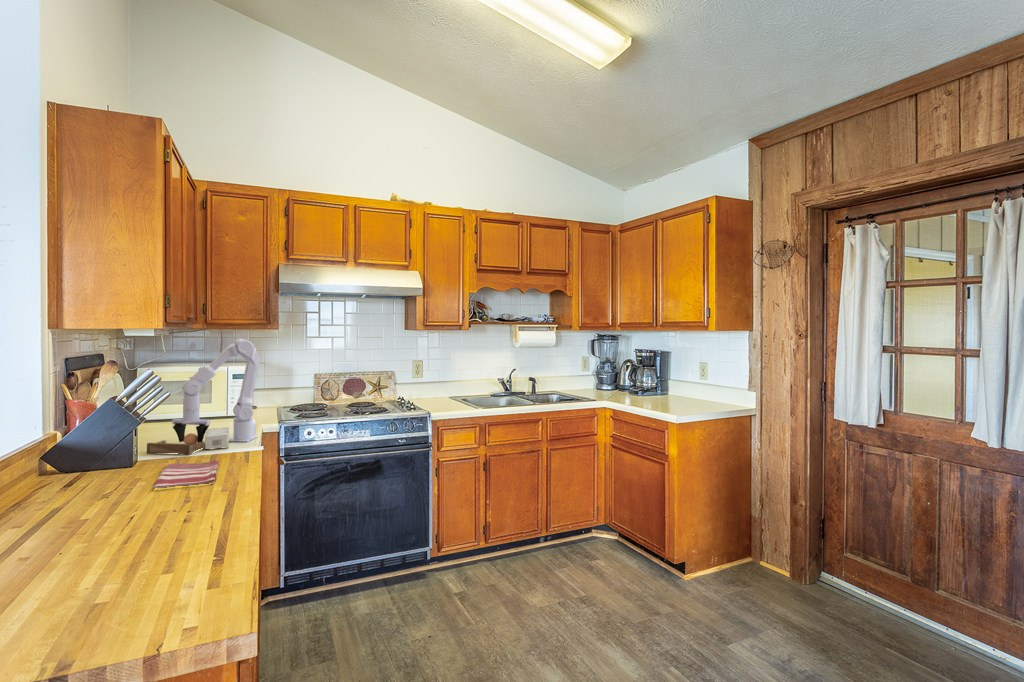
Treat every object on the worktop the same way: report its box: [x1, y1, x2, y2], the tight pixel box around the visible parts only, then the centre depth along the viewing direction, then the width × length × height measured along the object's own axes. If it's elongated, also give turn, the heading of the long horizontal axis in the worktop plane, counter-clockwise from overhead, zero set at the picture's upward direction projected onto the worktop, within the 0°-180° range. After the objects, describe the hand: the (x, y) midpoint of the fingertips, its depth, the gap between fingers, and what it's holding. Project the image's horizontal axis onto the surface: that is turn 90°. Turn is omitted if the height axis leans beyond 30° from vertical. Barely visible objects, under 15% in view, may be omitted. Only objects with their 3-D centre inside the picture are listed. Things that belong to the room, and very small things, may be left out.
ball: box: [183, 432, 198, 445], centre depth 207 cm, size 5×5×5 cm
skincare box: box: [204, 426, 230, 450], centre depth 209 cm, size 8×6×15 cm
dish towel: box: [153, 460, 220, 489], centre depth 169 cm, size 17×23×3 cm
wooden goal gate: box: [146, 439, 204, 456], centre depth 198 cm, size 9×17×4 cm, turn 90°
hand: (190, 441), depth 208 cm, fingers open, 7 cm apart
